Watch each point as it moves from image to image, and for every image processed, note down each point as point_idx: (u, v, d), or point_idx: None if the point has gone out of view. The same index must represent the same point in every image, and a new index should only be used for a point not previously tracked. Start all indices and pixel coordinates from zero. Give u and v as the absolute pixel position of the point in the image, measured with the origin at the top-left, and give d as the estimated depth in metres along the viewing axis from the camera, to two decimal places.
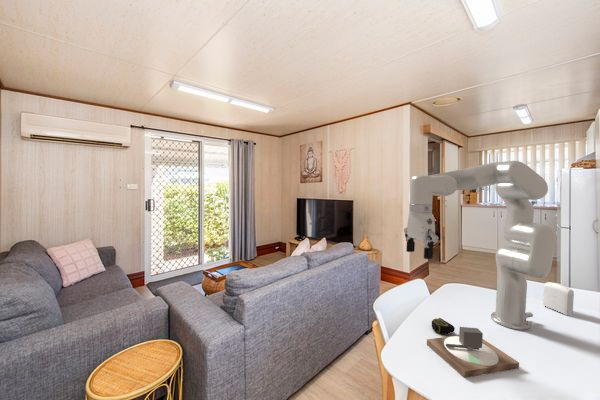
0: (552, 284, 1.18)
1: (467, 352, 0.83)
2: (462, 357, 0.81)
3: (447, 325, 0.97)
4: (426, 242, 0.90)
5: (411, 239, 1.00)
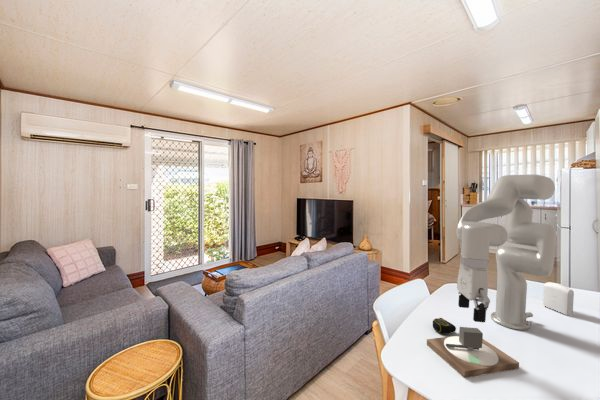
0: (552, 284, 1.18)
1: (467, 352, 0.83)
2: (462, 357, 0.81)
3: (448, 325, 0.98)
4: None
5: None
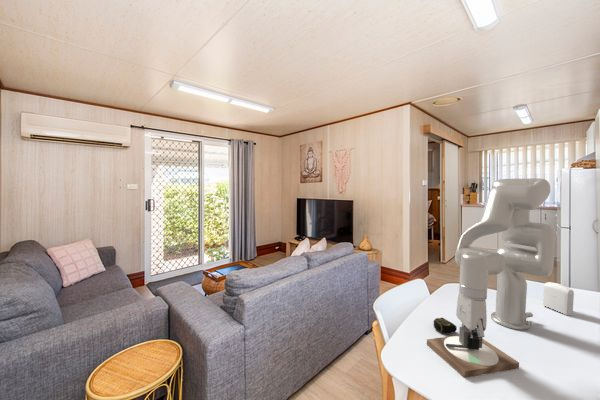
0: (552, 284, 1.18)
1: (467, 352, 0.83)
2: (462, 357, 0.81)
3: (449, 324, 0.98)
4: None
5: None
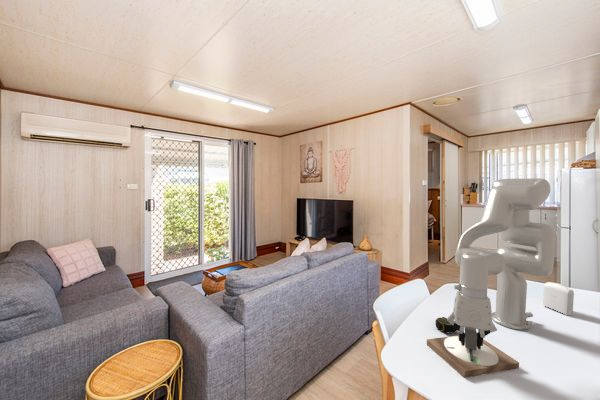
0: (552, 284, 1.18)
1: (467, 352, 0.83)
2: (462, 357, 0.81)
3: (451, 324, 0.98)
4: None
5: (480, 332, 0.83)
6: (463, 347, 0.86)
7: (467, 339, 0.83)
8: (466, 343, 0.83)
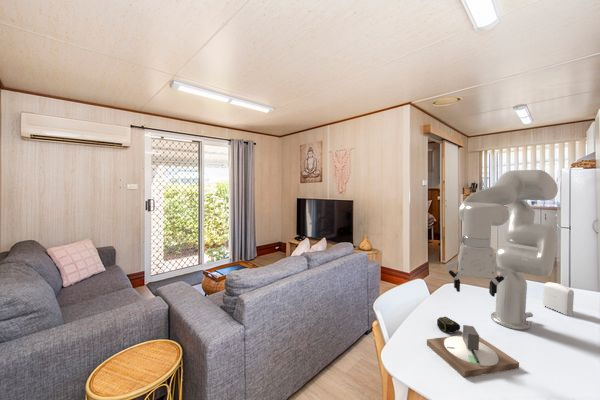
0: (552, 284, 1.18)
1: (467, 352, 0.83)
2: (462, 357, 0.81)
3: (453, 323, 0.99)
4: (456, 272, 0.88)
5: None
6: (463, 347, 0.86)
7: (469, 340, 0.82)
8: (468, 344, 0.82)
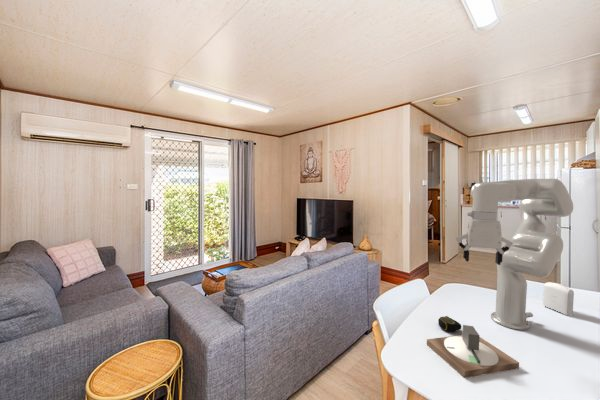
0: (552, 284, 1.18)
1: (467, 352, 0.83)
2: (462, 357, 0.81)
3: (454, 323, 0.99)
4: (465, 244, 0.98)
5: None
6: (463, 347, 0.86)
7: (470, 340, 0.82)
8: (469, 344, 0.82)
